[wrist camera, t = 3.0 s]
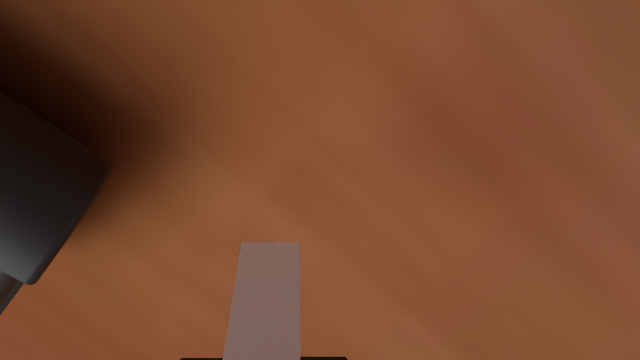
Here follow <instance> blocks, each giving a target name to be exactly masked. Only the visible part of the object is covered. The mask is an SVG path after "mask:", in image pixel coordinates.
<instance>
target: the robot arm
mask: <svg viewBox="0 0 640 360" xmlns="http://www.w3.org/2000/svg"><path fill="white" fill-rule="evenodd" d="M180 360H347V358H346V357H300V243H285V242H241V247H240V253H239V259H238V266H237V272H236V279H235V285H234V291H233V298H232V304H231V310H230V317H229V323H228V329H227V336H226V342H225V349H224V355H223V358H181V359H180Z"/></svg>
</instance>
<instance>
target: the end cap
mask: <svg viewBox="0 0 640 360" xmlns="http://www.w3.org/2000/svg"><path fill="white" fill-rule="evenodd" d="M111 172H112V165H111V163H110V162H109V161H108V160H106V159H104V158H103V157H101V156H100V155H98V154H97V153H95V152H93V151H92V150H90V149H89V148H87V147H86V146H84V145H83V144H81V143H79V142H78V141H76V140H75V139H73V138H72V137H70V136H69V135H67V134H65V133H64V132H62V131H61V130H59V129H58V128H56V127H55V126H53V125H51V124H50V123H48V122H47V121H45V120H44V119H42V118H41V117H39V116H37V115H36V114H34V113H33V112H31V111H30V110H28V109H27V108H25V107H23V106H22V105H20V104H19V103H17V102H16V101H14V100H13V99H11V98H9V97H8V96H6V95H5V94H3V93H2V92H0V315H1V313H2V312H3V310H4V309H5V308H6V306H7V305H8V304H9V302H10V301H11V300H12V298H13V297H14V296H15V294H16V293H17V292H18V290H19V289H20V288H21V286H22V285H23V284H24V283H25V284H28V285H32V284H35V283H36V282H37V281H38V280H39V278H40V277H41V276H42V274H43V273H44V271H45V270H46V269H47V267H48V266H49V265H50V263H51V262H52V260H53V259H54V258H55V256H56V255H57V254H58V252H59V251H60V249H61V248H62V247H63V245H64V244H65V242H66V241H67V239H68V238H69V237H70V235H71V234H72V232H73V231H74V230H75V228H76V227H77V225H78V224H79V222H80V221H81V219H82V218H83V216H84V215H85V214H86V212H87V211H88V209H89V208H90V206H91V205H92V203H93V202H94V200H95V199H96V197H97V196H98V194H99V193H100V191H101V189H102V188H103V186H104V185H105V183H106V182H107V180H108V178H109V176H110V174H111Z"/></svg>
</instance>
